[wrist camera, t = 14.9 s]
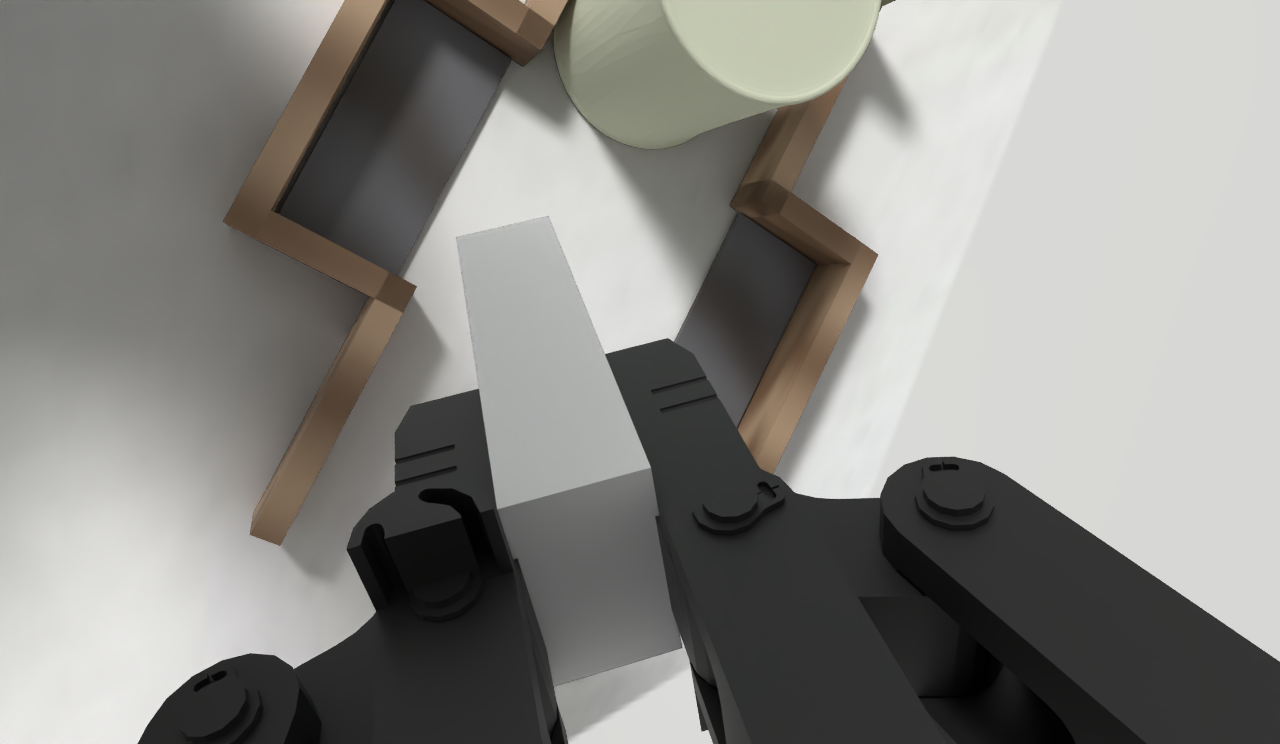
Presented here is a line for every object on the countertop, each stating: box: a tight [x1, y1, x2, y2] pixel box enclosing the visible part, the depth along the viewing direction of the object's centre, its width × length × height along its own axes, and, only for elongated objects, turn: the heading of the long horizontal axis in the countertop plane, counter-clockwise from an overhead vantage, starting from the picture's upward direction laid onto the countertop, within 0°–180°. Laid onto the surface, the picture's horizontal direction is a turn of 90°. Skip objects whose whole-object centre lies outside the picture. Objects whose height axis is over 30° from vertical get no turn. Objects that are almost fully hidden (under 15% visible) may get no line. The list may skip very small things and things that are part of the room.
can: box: [554, 0, 881, 149], centre depth 34 cm, size 9×9×12 cm
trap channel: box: [223, 0, 895, 546], centre depth 36 cm, size 35×26×6 cm
